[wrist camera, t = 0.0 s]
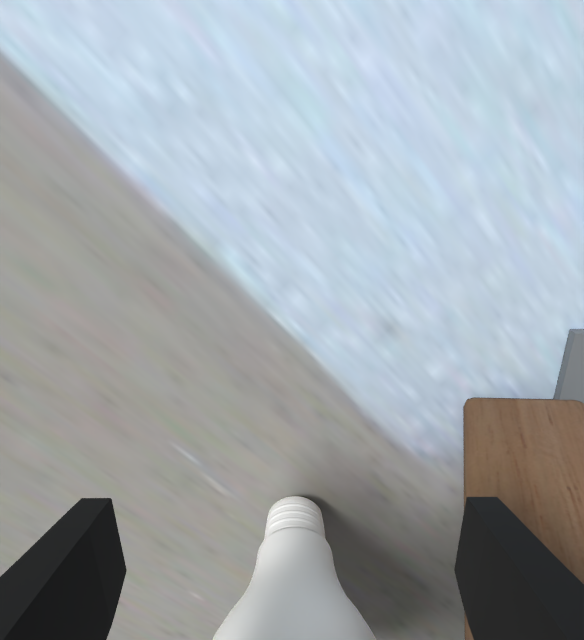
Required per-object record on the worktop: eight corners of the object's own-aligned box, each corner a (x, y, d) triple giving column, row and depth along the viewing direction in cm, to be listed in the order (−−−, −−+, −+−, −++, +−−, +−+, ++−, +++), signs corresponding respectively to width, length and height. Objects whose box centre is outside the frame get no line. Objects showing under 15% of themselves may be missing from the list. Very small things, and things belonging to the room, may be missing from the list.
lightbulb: (302, 429, 21) (307, 723, 11) (385, 510, 23) (458, 828, 12) (203, 499, 22) (127, 812, 12) (289, 569, 24) (283, 894, 14)
